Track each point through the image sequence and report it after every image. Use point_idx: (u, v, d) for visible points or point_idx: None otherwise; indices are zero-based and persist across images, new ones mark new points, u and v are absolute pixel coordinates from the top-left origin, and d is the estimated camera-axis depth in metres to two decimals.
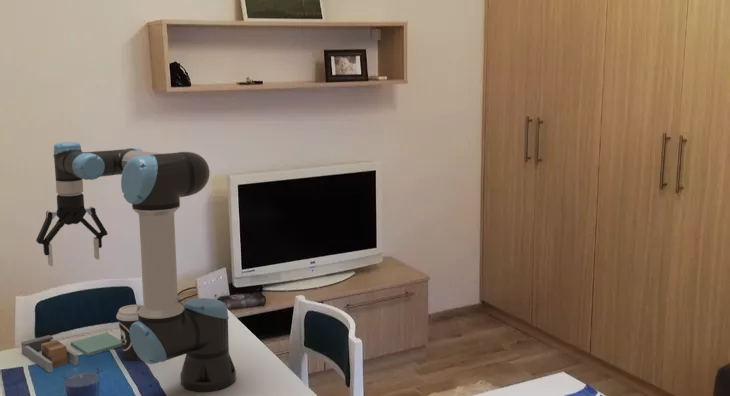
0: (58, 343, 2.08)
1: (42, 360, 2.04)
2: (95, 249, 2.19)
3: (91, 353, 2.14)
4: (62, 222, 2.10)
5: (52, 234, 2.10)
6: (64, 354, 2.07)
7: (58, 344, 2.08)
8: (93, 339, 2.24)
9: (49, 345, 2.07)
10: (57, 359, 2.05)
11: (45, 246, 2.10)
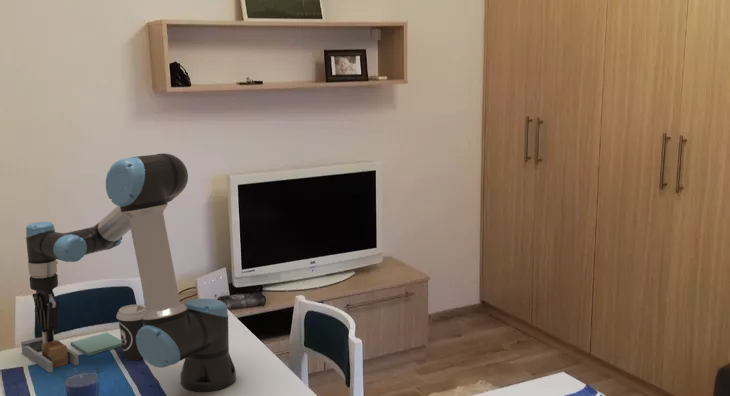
0: (58, 343, 2.08)
1: (42, 360, 2.04)
2: None
3: (91, 353, 2.14)
4: (37, 303, 2.08)
5: (40, 317, 2.09)
6: (65, 354, 2.06)
7: (58, 344, 2.07)
8: (93, 339, 2.24)
9: (50, 345, 2.07)
10: (58, 359, 2.05)
11: (43, 330, 2.10)
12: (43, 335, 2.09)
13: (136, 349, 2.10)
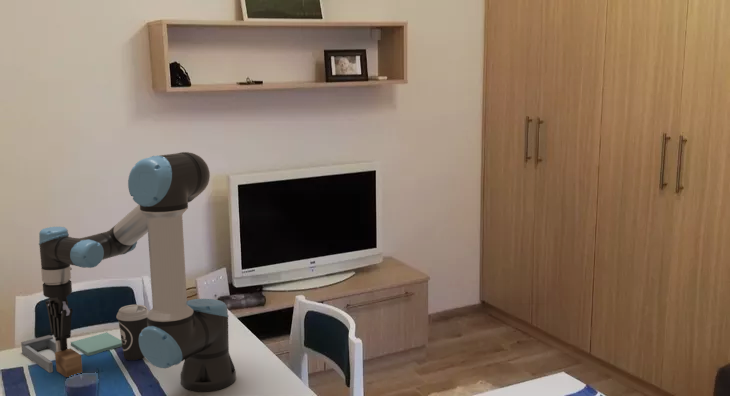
0: (72, 352, 2.02)
1: (42, 360, 2.04)
2: None
3: (91, 353, 2.14)
4: (51, 311, 2.02)
5: (53, 325, 2.03)
6: (79, 363, 2.00)
7: (72, 353, 2.01)
8: (93, 339, 2.24)
9: (63, 354, 2.00)
10: (72, 368, 1.99)
11: None
12: (56, 344, 2.02)
13: (136, 349, 2.10)
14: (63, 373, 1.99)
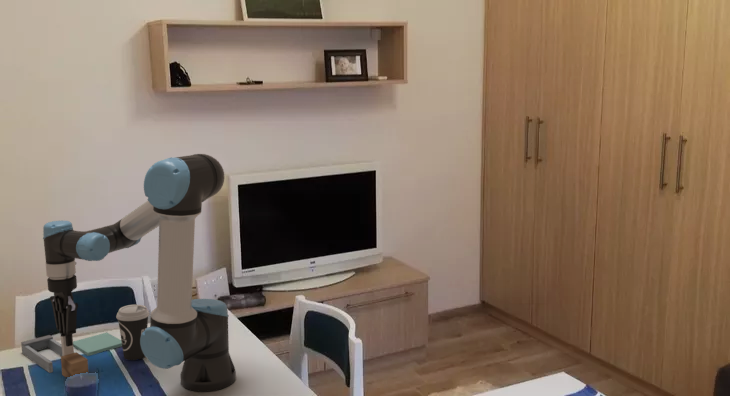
0: (78, 356, 1.99)
1: (42, 360, 2.04)
2: None
3: (91, 353, 2.14)
4: (56, 306, 1.99)
5: (58, 321, 2.00)
6: (85, 367, 1.97)
7: (79, 357, 1.98)
8: (93, 339, 2.24)
9: (69, 358, 1.98)
10: (78, 373, 1.96)
11: None
12: (62, 339, 1.99)
13: (136, 349, 2.10)
14: None
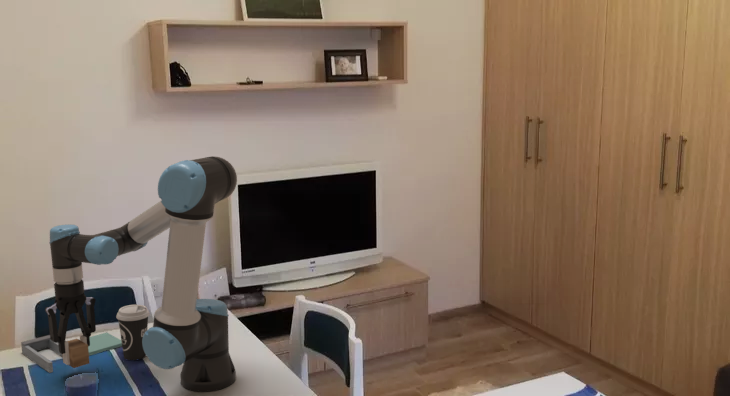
0: (79, 342, 1.98)
1: (42, 360, 2.04)
2: None
3: (91, 353, 2.14)
4: (66, 314, 1.93)
5: (63, 330, 1.93)
6: (86, 353, 1.96)
7: (79, 343, 1.97)
8: (93, 339, 2.24)
9: (70, 344, 1.97)
10: (79, 358, 1.95)
11: (61, 344, 1.94)
12: (68, 346, 1.95)
13: (136, 349, 2.10)
14: None
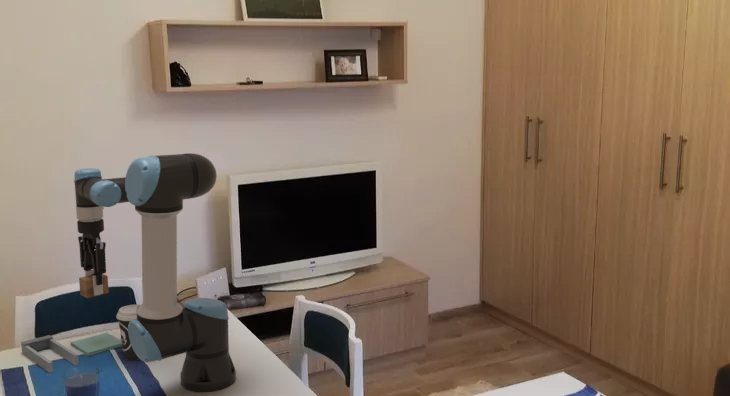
0: None
1: (42, 360, 2.04)
2: None
3: (91, 353, 2.14)
4: (83, 247, 2.16)
5: (84, 259, 2.18)
6: (85, 287, 2.14)
7: (92, 278, 2.16)
8: (93, 339, 2.24)
9: None
10: (82, 289, 2.16)
11: None
12: None
13: None
14: None
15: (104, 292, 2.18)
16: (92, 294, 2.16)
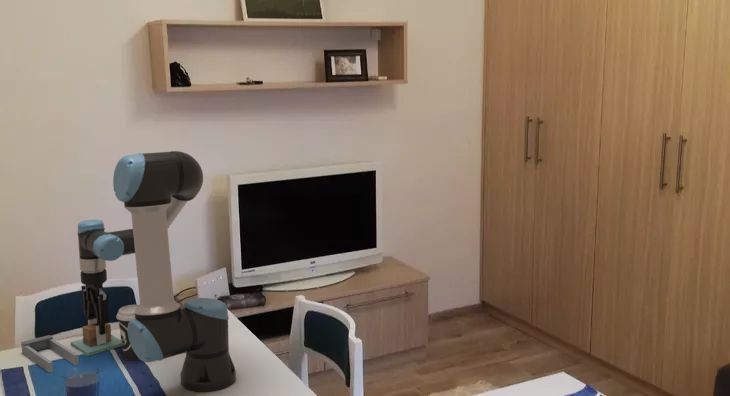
0: None
1: (42, 360, 2.04)
2: None
3: (91, 353, 2.14)
4: (86, 296, 2.19)
5: (87, 309, 2.21)
6: (88, 337, 2.17)
7: (95, 327, 2.19)
8: None
9: None
10: (85, 338, 2.19)
11: None
12: None
13: None
14: None
15: (107, 340, 2.21)
16: (95, 343, 2.18)
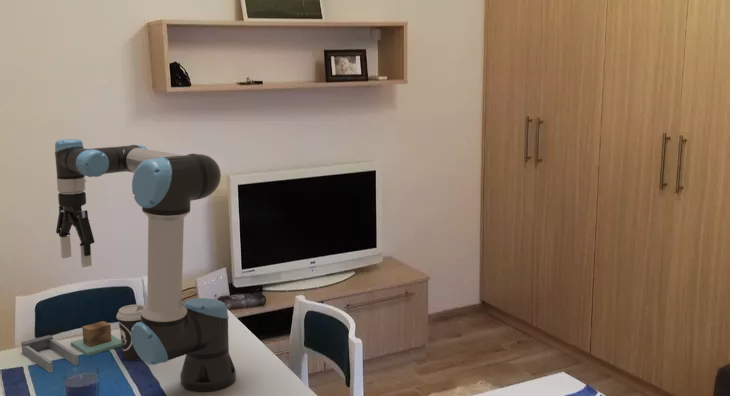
0: (98, 326, 2.20)
1: (42, 360, 2.04)
2: None
3: (91, 353, 2.14)
4: (63, 218, 2.09)
5: (61, 227, 2.12)
6: (88, 336, 2.17)
7: (95, 327, 2.19)
8: None
9: (96, 324, 2.21)
10: (85, 338, 2.19)
11: None
12: (61, 242, 2.13)
13: None
14: None
15: (107, 340, 2.21)
16: (95, 343, 2.19)
